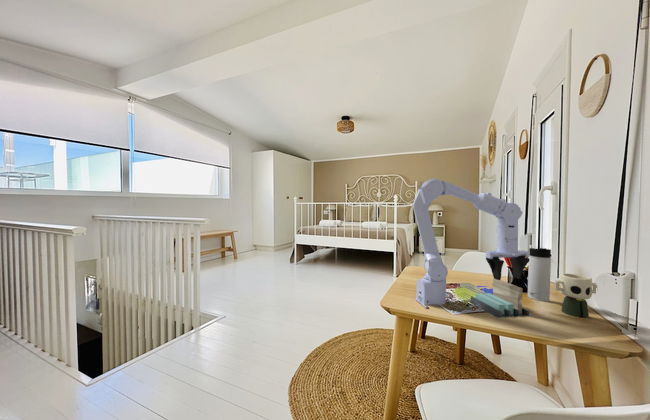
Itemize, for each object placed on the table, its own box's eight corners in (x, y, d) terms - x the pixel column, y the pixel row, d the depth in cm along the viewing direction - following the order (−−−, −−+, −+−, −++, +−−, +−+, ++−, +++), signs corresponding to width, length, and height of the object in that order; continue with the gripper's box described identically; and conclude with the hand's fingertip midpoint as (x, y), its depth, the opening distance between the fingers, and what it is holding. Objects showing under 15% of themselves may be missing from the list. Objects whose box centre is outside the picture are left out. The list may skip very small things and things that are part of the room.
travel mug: (531, 302, 93) (533, 248, 92) (525, 296, 99) (526, 245, 98) (553, 305, 90) (555, 249, 90) (545, 299, 97) (546, 246, 96)
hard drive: (511, 297, 95) (498, 287, 107) (486, 295, 97) (476, 285, 109) (511, 301, 95) (498, 291, 107) (486, 299, 97) (476, 289, 109)
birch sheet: (517, 313, 81) (518, 288, 81) (492, 301, 91) (493, 279, 91) (521, 313, 81) (522, 288, 81) (496, 301, 91) (497, 279, 91)
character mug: (561, 319, 80) (562, 277, 79) (547, 310, 86) (549, 271, 86) (604, 323, 77) (606, 280, 76) (587, 314, 84) (588, 274, 83)
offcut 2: (507, 313, 81) (508, 304, 81) (484, 301, 91) (484, 293, 91) (513, 313, 81) (513, 304, 81) (489, 301, 91) (489, 293, 91)
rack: (496, 320, 78) (497, 312, 78) (465, 303, 92) (466, 296, 92) (534, 318, 80) (534, 310, 80) (498, 301, 94) (498, 294, 94)
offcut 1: (498, 314, 80) (498, 305, 80) (475, 302, 90) (476, 293, 90) (504, 314, 81) (504, 304, 80) (481, 301, 90) (481, 293, 90)
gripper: (497, 240, 81) (497, 283, 81) (537, 239, 83) (537, 281, 83) (481, 237, 88) (480, 277, 88) (518, 236, 90) (517, 275, 90)
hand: (507, 278), depth 86 cm, fingers open, 7 cm apart
